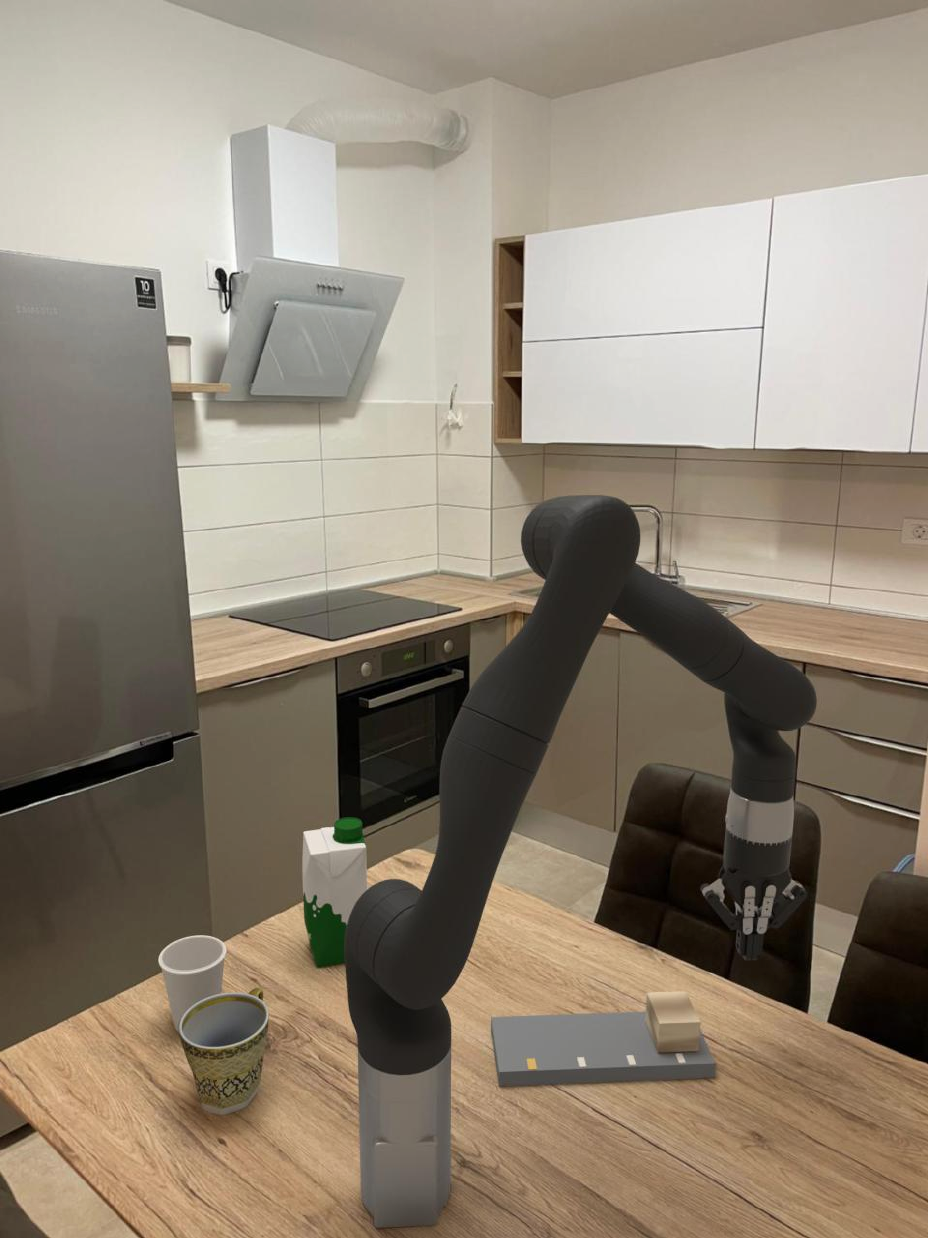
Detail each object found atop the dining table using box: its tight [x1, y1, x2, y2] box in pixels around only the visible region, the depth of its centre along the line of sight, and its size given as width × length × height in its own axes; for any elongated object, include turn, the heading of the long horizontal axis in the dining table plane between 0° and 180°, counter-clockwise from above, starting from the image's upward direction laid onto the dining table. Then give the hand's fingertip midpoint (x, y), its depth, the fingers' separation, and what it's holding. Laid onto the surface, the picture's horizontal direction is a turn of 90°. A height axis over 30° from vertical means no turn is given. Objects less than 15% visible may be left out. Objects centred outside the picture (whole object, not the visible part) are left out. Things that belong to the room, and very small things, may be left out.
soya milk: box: [301, 816, 368, 969], centre depth 134 cm, size 9×9×20 cm
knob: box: [645, 990, 701, 1052], centre depth 115 cm, size 6×5×4 cm
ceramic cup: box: [178, 987, 270, 1116], centre depth 108 cm, size 13×10×10 cm
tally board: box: [490, 1010, 717, 1088], centre depth 115 cm, size 10×26×2 cm, turn 94°
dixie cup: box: [158, 934, 228, 1033], centre depth 119 cm, size 8×8×10 cm
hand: (748, 956), depth 113 cm, fingers closed
